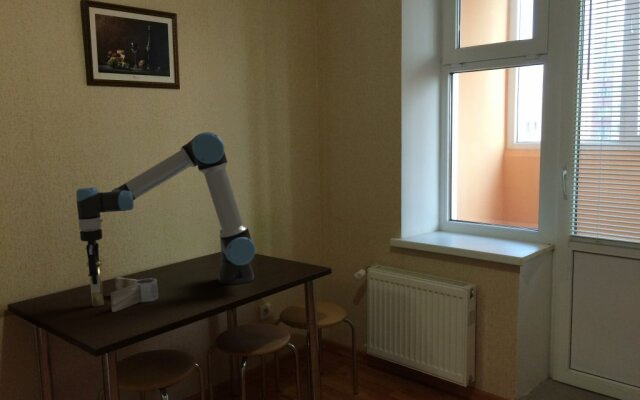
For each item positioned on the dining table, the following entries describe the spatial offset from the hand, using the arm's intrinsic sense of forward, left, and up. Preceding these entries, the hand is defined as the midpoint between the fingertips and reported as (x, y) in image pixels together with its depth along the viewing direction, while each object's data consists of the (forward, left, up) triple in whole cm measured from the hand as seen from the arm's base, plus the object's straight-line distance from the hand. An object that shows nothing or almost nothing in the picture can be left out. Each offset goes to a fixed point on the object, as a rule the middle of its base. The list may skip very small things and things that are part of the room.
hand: (96, 290), depth 197 cm
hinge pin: (0, 0, -6) cm, 6 cm away
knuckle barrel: (-12, -13, -6) cm, 18 cm away
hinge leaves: (-4, -5, -6) cm, 9 cm away
